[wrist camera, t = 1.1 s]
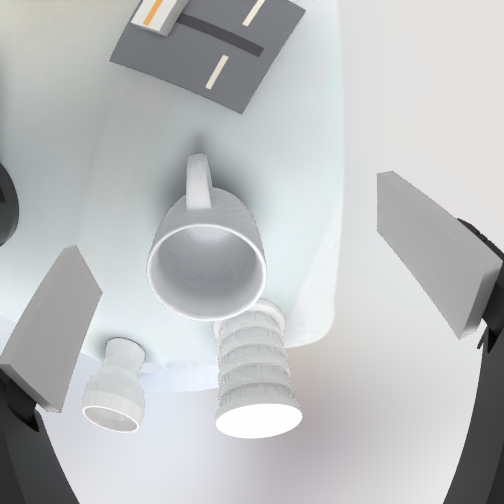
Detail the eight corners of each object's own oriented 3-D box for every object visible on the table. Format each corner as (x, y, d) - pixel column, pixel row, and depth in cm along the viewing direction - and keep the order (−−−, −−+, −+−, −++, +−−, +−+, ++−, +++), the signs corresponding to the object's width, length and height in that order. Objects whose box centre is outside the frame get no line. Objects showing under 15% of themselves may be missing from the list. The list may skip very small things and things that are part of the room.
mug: (154, 148, 32) (119, 187, 21) (249, 136, 32) (262, 169, 22) (176, 255, 40) (162, 326, 29) (257, 247, 41) (270, 316, 30)
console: (115, 61, 26) (103, 60, 23) (173, -39, 20) (168, -49, 17) (240, 112, 31) (242, 116, 28) (301, 13, 25) (309, 7, 22)
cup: (162, 349, 51) (152, 422, 38) (139, 373, 55) (129, 438, 42) (109, 323, 46) (87, 396, 34) (93, 351, 50) (73, 416, 38)
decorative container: (280, 291, 45) (304, 394, 30) (286, 339, 51) (305, 431, 36) (204, 304, 45) (201, 409, 30) (222, 350, 52) (225, 442, 36)
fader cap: (142, 28, 22) (130, 22, 19) (165, -11, 20) (156, -22, 17) (166, 36, 23) (158, 30, 20) (190, -3, 21) (185, -14, 18)
